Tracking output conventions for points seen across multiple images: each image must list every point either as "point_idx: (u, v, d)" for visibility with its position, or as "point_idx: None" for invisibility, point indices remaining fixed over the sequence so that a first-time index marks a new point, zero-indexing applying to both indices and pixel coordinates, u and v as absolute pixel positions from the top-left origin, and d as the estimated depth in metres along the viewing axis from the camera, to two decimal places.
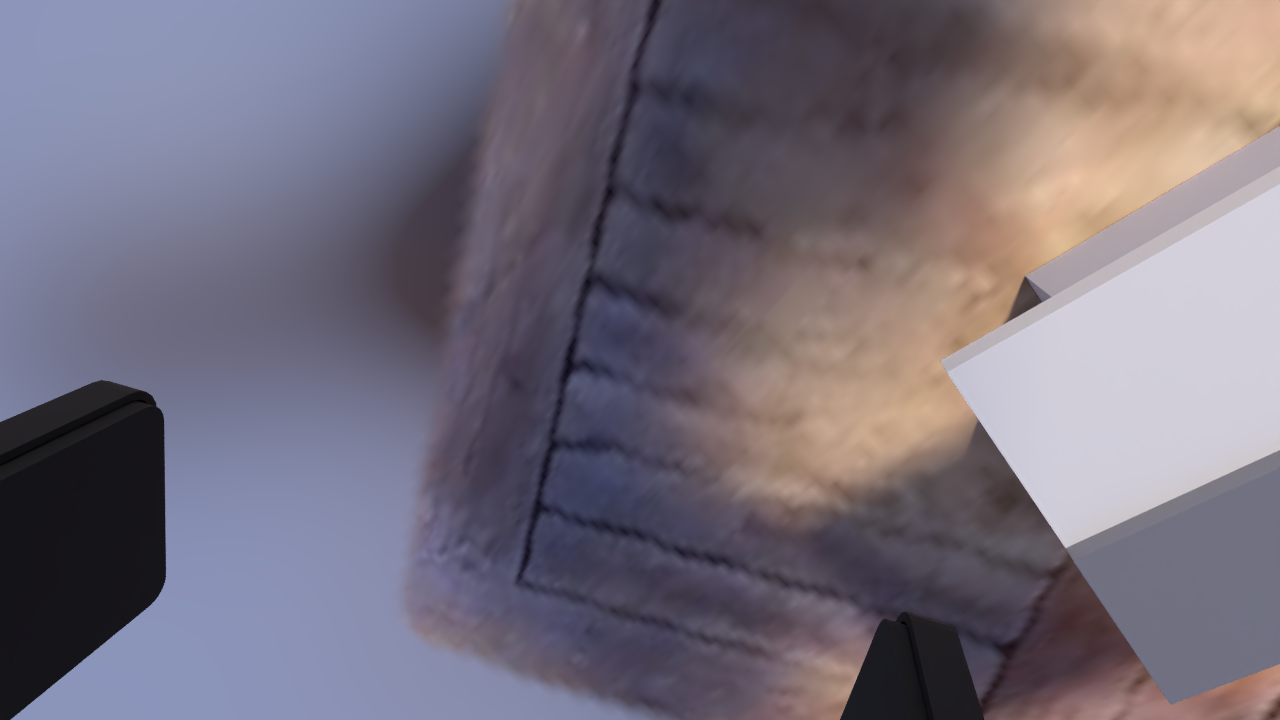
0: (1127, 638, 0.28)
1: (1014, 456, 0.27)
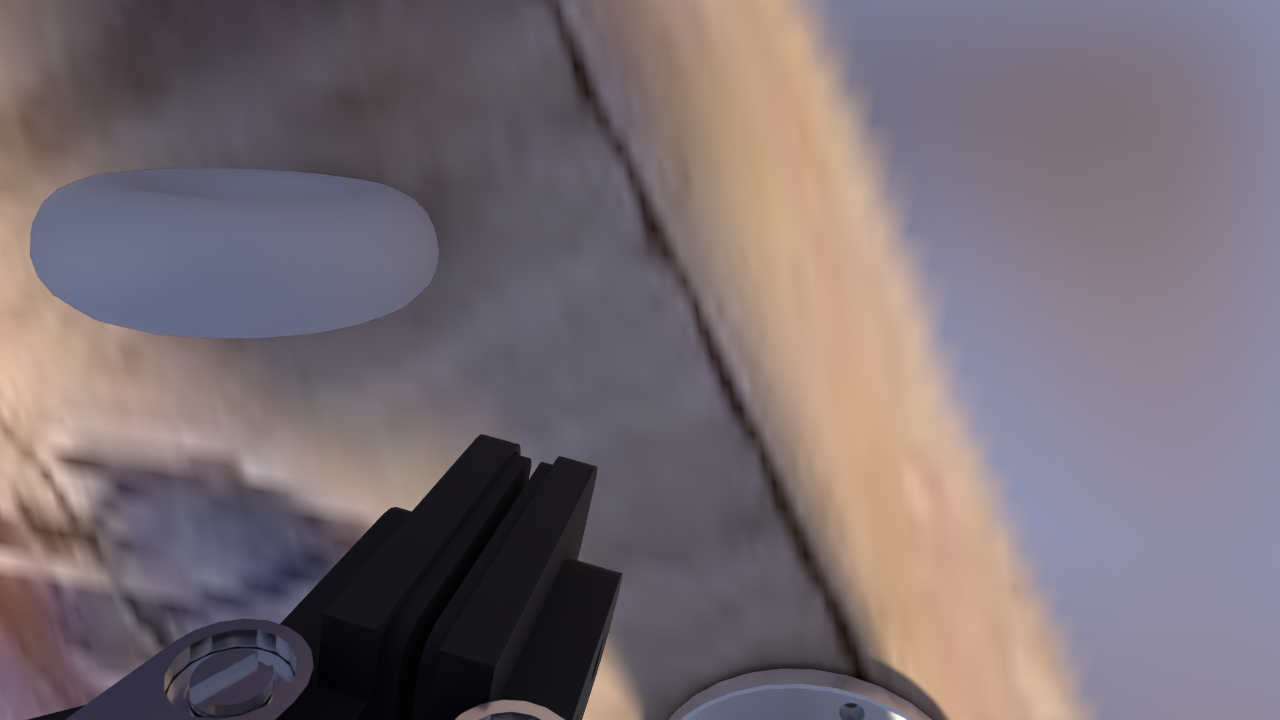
0: None
1: None
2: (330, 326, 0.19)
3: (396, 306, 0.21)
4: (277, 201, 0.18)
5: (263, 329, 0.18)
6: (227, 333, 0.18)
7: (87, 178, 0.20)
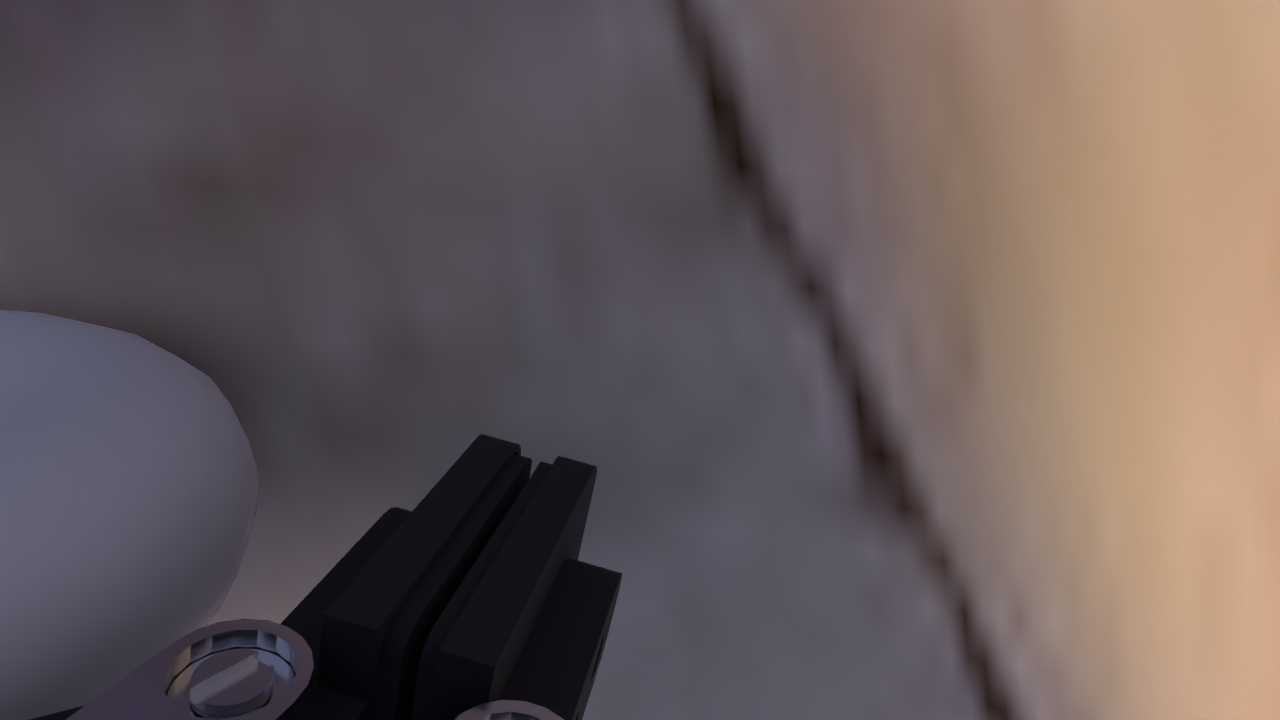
0: None
1: None
2: None
3: None
4: None
5: None
6: None
7: None
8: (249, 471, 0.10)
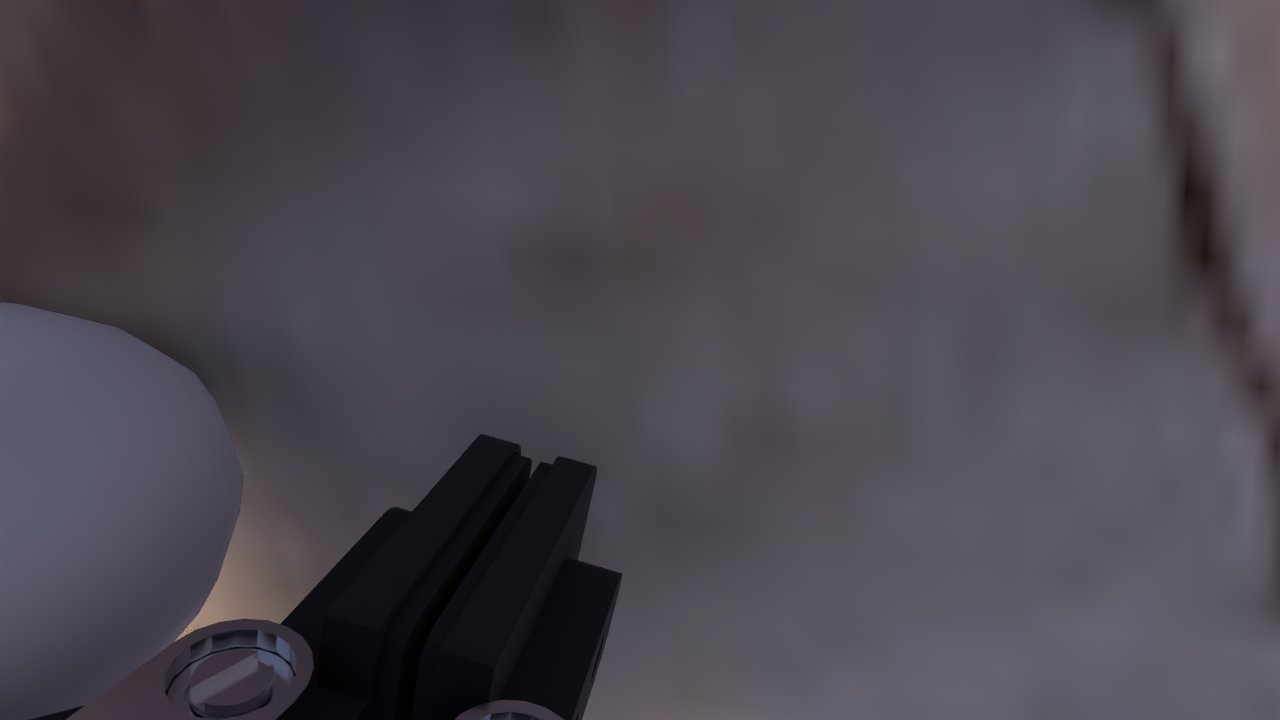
0: None
1: None
2: None
3: None
4: None
5: None
6: None
7: None
8: (232, 471, 0.10)
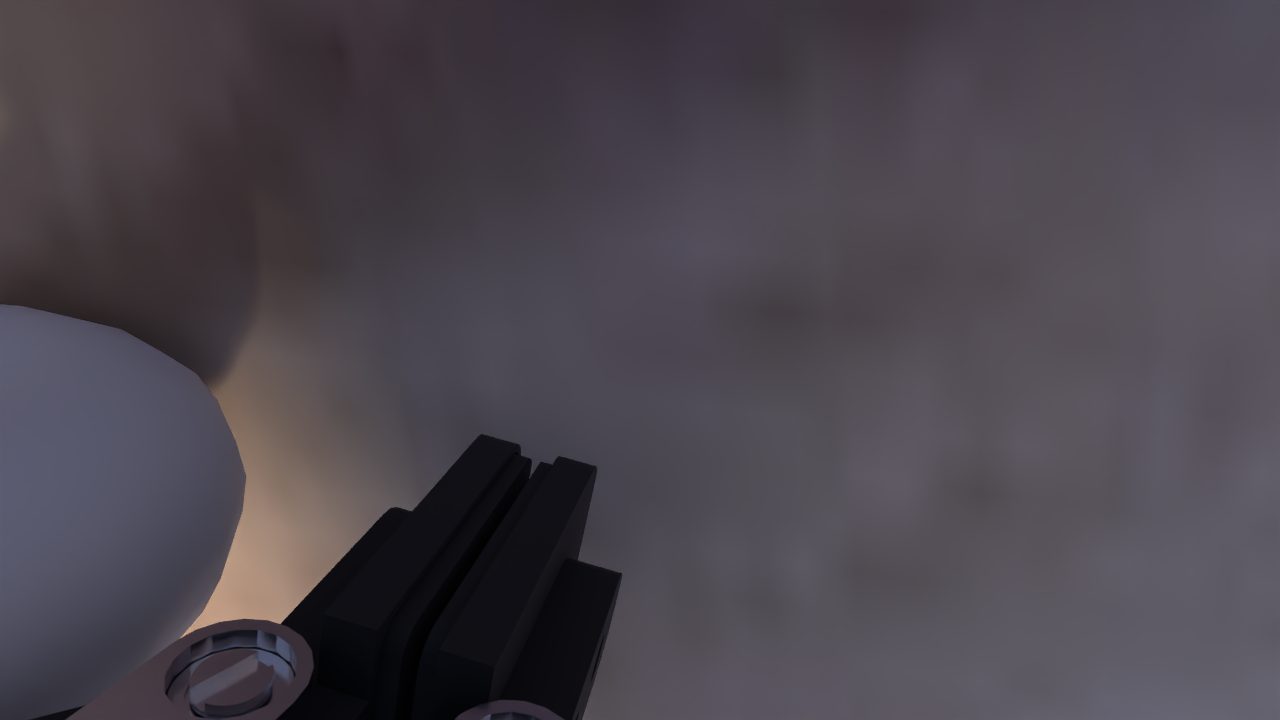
0: None
1: None
2: None
3: None
4: None
5: None
6: None
7: None
8: (235, 471, 0.10)
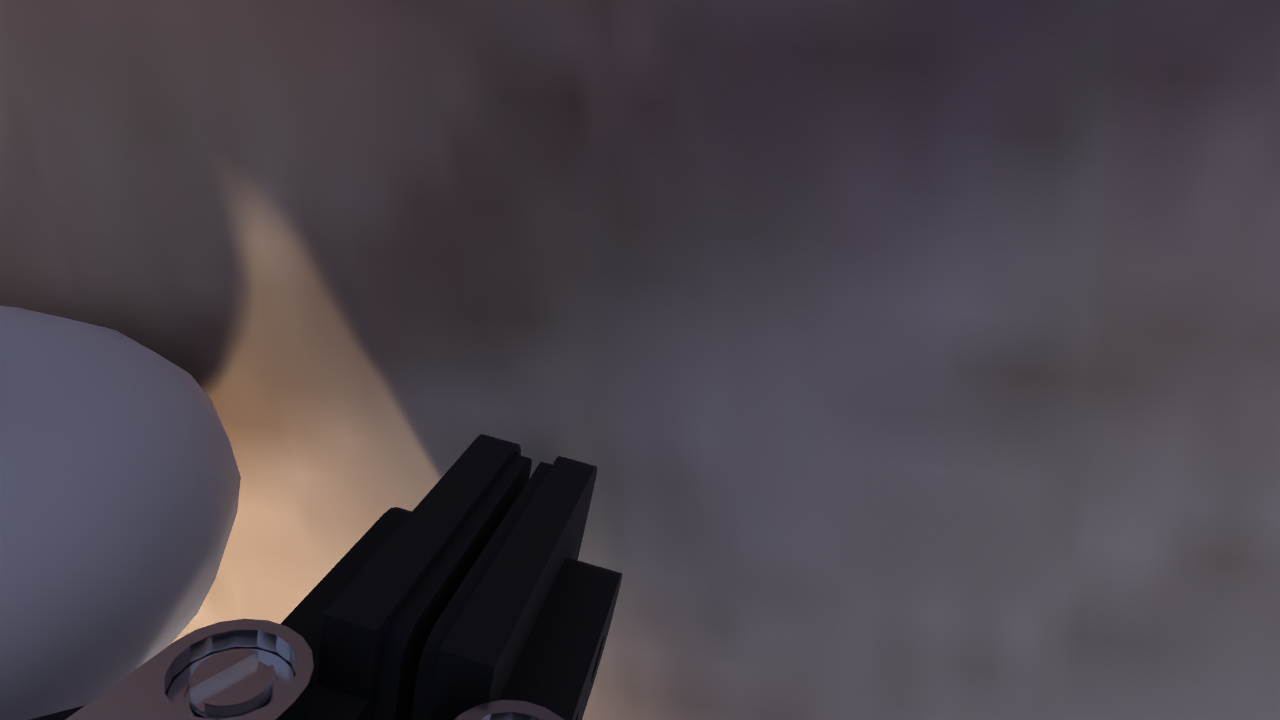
0: None
1: None
2: None
3: None
4: None
5: None
6: None
7: None
8: (229, 471, 0.10)
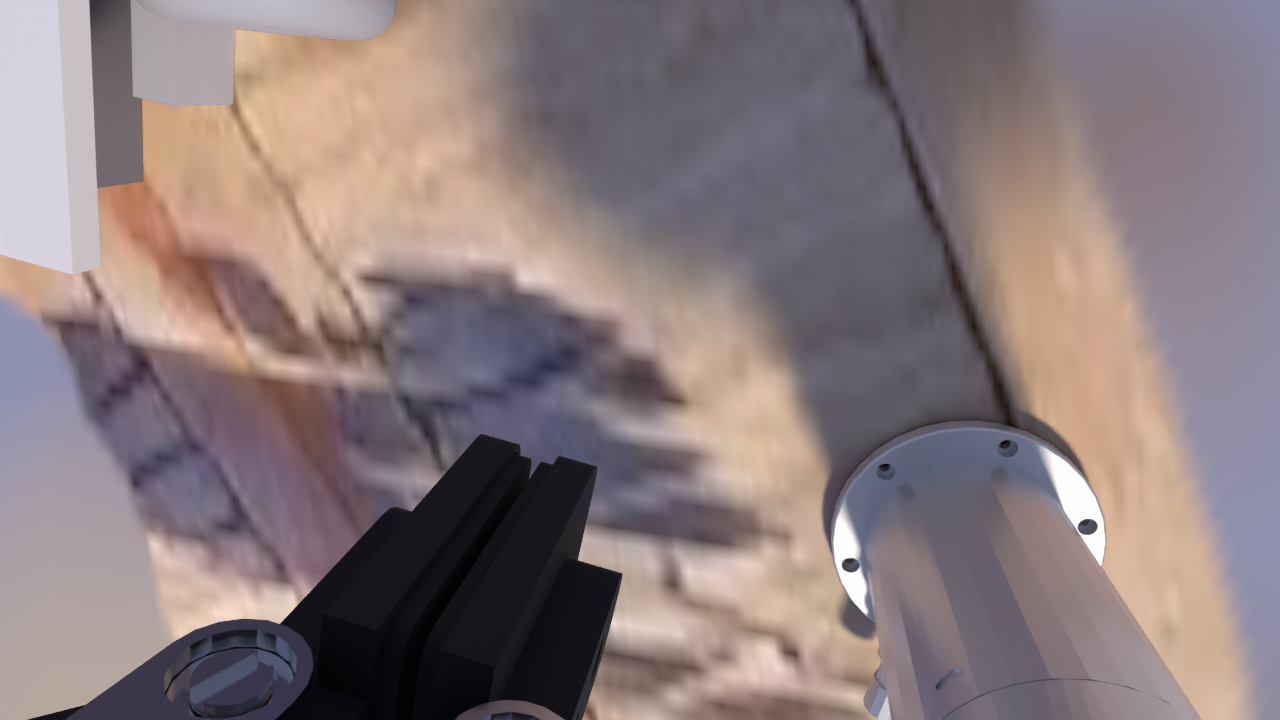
0: None
1: None
2: (319, 23, 0.29)
3: (365, 24, 0.30)
4: None
5: (275, 13, 0.28)
6: (251, 15, 0.28)
7: None
8: None
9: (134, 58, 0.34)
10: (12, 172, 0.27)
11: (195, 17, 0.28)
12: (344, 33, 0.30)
